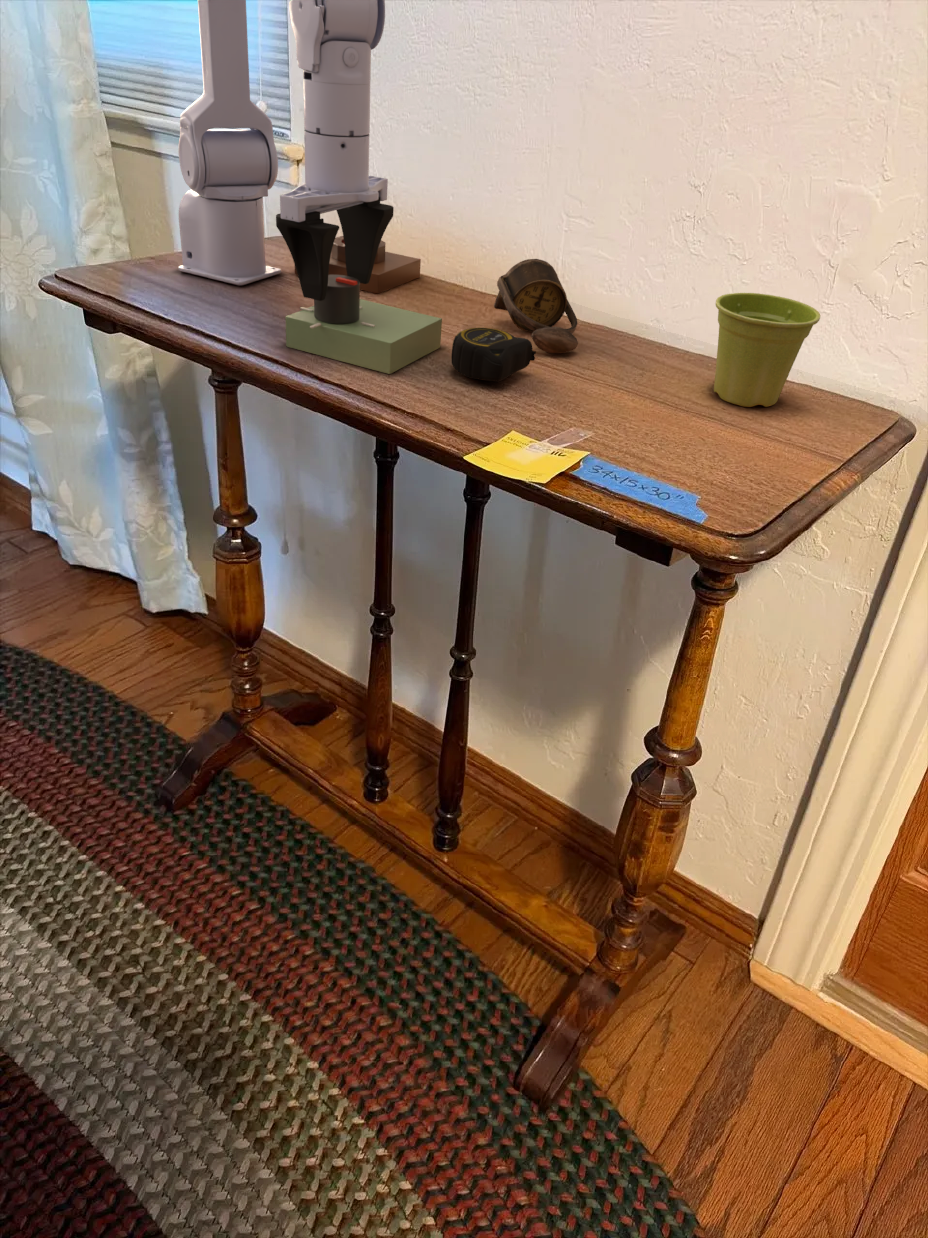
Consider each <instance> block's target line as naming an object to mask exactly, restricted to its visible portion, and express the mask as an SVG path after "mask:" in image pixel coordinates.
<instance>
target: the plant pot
mask: <svg viewBox="0 0 928 1238" xmlns="http://www.w3.org/2000/svg"><path fill="white" fill-rule="evenodd" d="M715 299H716V300H715V307H716V308H717V310H718V312H717V313H718V314H717V323H718V337H717V338H718V339H717V351H716V361H715V372H714V384H713V392H714V393H716V394H717V395H718V397H719V398H720V399H721V400H723V401H724V402H727V403H729V404H734V405H737V406H740V407H745V408H751V407H755V406H763V407H765V408H767V407H771V406H773V405H775V404H776V403H778V400H779V398H780V395H781V393H782V391H783V388H784V386H785V385H786V382H787V380H788V377H789V375H790V372H791V371H792V368H793V367H794V363H795V361H796V359H797V357H798V354H799V352H800V350H801V348H802V345H803V343H804V341H805V339H806V338H808V336H809V335H810V333H811V331H812V329H813V327H814V326H815V325H816V324H818V323H819V322H820V319H821V313H820V312H819V311H818V310H817V309H816V308H815V307H812V306H811V305H809V304H806V303H805V302H804V303H803V302H801V301H798V300H795V299H791V298H787V297H783V296H780V295H779V296H778V295H773V294H766V293H765V294H764V293H759V292H758V293H756V292H733V293H725V294H722V295H720V296H718V297H717V298H715Z"/></svg>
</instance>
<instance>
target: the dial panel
mask: <svg viewBox="0 0 928 1238" xmlns="http://www.w3.org/2000/svg"><path fill="white" fill-rule="evenodd" d="M284 319H285V345H286V348H290V349H294V350H297V351H302V352H304V353H305V352H306V353H309V354H312V355H317V356H320V357H324V358H328V359H332V360H335V361H339V362H342V363H346V364H350V365H353V366H358V367H361V368H365V369H369V370H373V371H377V372H380V373H384V374H387V375H391V374H394V372H397V371H399V370H401V369H402V368H405V367H406V366H408V365H410V364H412V363H413V362H416V361H418V360H420V359H421V358H423V357H425V356H427V355H429V354H431V353H433V352H435V351H436V350H438V349H440V348H441V344H442V343H441V341H442V326H443V318H442V317H438V316H433V315H429V314H425V313H421V312H416V311H412V310H408V309H404V308H399V307H395V306H392V305H387V304H383V303H380V302H379V303H378V302H375V301H371V300H366V299H362V298H360V315H359V320H358V321H356V322H353V323H348V324H332V323H326V322H322V321H319V320H317V319H316V318H315V316H314V305H312V306H309V307H304V306H301V307H299V311H296V312H293V313H291V314H289V315H286V316H285V317H284Z"/></svg>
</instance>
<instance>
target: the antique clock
mask: <svg viewBox="0 0 928 1238" xmlns="http://www.w3.org/2000/svg"><path fill="white" fill-rule="evenodd" d="M496 286H497V288H498V293H497V295H496V298H495V301H494V303H493V308H494V309H496V310H503V311H507V312H508V315H509V318H510V319H511V321H512V323H513V324H514V326H516V328H518V329H520V330H522V331H523V332H530V333H531V336H530V337H531V339H532V342H533V343H534V344H535V346H536V347H537V348H538V349H539V350H541V351H543V352H546V353H548V354H565V353H569V352H572V351H574V350H575V349H576V348H577V347H578V345H579V341H578V339H577V337H576V336H575V335H574V333H575V332H576V330H577V326H578V318H577V316H576V313H575V312H574V309H573V307H572V305H571V303H570V301H569V300H568V296H567V293H566V291H565V289H564V287H563V285H562V282H561V280H560V279H559V276H558V273H557V271H556V269H555V267H553V265H552V264H550V263H549V262H548V261H546V260H543V259H539V258H528V259H523V260H522V261H519V262H517V263H516V264H514V265H513V266H512V267H511V268H510V269H508V271H507V272H506V273H505V274H502V275H500V277H499V278H498V279H497V283H496ZM564 314H566V318H567V320H568V321H569V323H570V327H568V328H563V327H559V326H555V325H556V324H557V323H558V322H559V321H560V320H561V319H562V317H563V316H564Z"/></svg>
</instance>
